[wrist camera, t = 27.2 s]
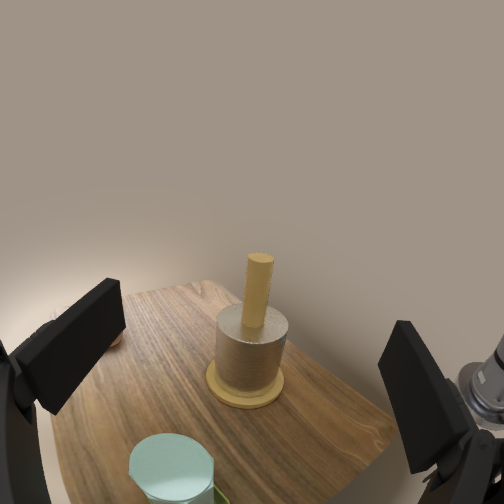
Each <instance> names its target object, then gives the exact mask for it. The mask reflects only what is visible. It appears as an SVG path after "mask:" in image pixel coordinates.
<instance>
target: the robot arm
mask: <svg viewBox="0 0 504 504" xmlns="http://www.w3.org/2000/svg"><path fill="white" fill-rule="evenodd" d="M125 328H126V324H125V318H124V312H123V305H122V297H121V290H120V281H119V280H115V279H111V278H106V279H105V280H103V281H102V282H101V283H100V284H98V285H97V286H96V287H95V288H93V289H92V290H91V291H89V292H88V293H87V294H86V295H84V296H83V297H82V298H81V299H79V300H78V301H77V302H76V303H75V304H73V305H72V306H71V307H70V308H69V309H67V310H66V311H65V312H64V313H63V314H61V315H60V316H59V317H58V318H57V319H56V320H52V321H49V322H47V323H45V324H43V325H42V326H41V327H40V328H39V329H37V330H36V332H34V333H33V334H32V335H31V336H30V338H27V339H26V340H25V341H24V342H23V343H22V344H21V345H19V346H18V347H17V348H16V349H15V350H14V351H13V352H12V353H11V354H10V355H7V353H6V351H5V349H4V346H3V344H2V342H1V340H0V504H51V500H50V497H49V493H48V489H47V485H46V480H45V476H44V471H43V466H42V460H41V454H40V447H39V439H38V429H37V417H36V407H35V404H34V401H35V400H36V399H38V401H39V403H40V404H41V406H42V407H43V408H44V409H46V410H47V411H49V412H50V413H52V414H53V415H55V416H56V415H57V413H58V412H59V411H60V409H61V408H62V407H63V405H64V404H65V403H66V401H67V400H68V399H69V397H70V396H71V395H72V393H73V392H74V391H75V389H76V388H77V387H78V386H79V384H80V383H81V382H82V380H83V379H84V378H85V377H86V375H87V374H88V373H89V372H90V370H91V369H92V368H93V367H94V365H95V364H96V363H97V362H98V360H99V359H100V358H101V357H102V355H103V354H104V353H105V352H106V350H107V349H108V348H109V347H110V346H111V344H112V343H113V342H114V341H115V340H116V338H117V337H118V336H119V335H120V334H121V332H122V331H123V330H124V329H125ZM378 367H379V369H380V372H381V375H382V378H383V381H384V384H385V387H386V390H387V393H388V396H389V399H390V401H391V405H392V408H393V411H394V414H395V417H396V421H397V424H398V427H399V431H400V434H401V437H402V441H403V444H404V448H405V452H406V456H407V460H408V463H409V467H410V472H411V474H415V473H419V472H423V471H427V470H428V469H429V468H430V467H432V466H433V465H434V464H435V463H436V464H437V467H438V468H437V469H436V470H435V471H433V472H432V473H431V474H430V475H429V476H427V477H426V478H425V479H424V480H423V483H424V482H426V481H427V480H428V479H430V478H431V479H430V481H429V483H428V484H427V487H426V489H425V491H424V493H423V495H422V497H421V498H420V500H419V502H418V504H504V438H502V439H500V438H497V439H496V438H495V437H494V436H493V434H492V433H491V432H489V431H488V430H484V429H481V430H479V429H478V427H477V425H476V423H475V420H474V418H473V416H472V414H471V412H470V410H469V408H468V407H467V405H466V404H465V401H464V399H463V397H461V393H460V392H459V390H458V388H457V386H456V385H455V384H454V383H453V382H452V381H451V380H450V379H449V378H447V379H445V378H444V376H443V374H442V372H441V371H440V369H439V367H438V365H437V364H436V362H435V360H434V359H433V357H432V355H431V354H430V352H429V350H428V348H427V347H426V345H425V344H424V342H423V341H422V339H421V337H420V336H419V334H418V332H417V331H416V329H415V328H414V326H413V325H412V323H411V322H410V321H402V320H397V322H396V324H395V326H394V329H393V331H392V334H391V336H390V339H389V341H388V343H387V345H386V347H385V350H384V352H383V354H382V356H381V358H380V360H379V362H378ZM470 385H471V389H472V392H473V394H474V396H475V397H476V399H477V400H478V401H479V402H480V403H481V404H482V405H483V406H484V407H485V408H487V409H489V410H491V411H494V412H504V335H503V337H502V339H501V341H500V342H499V344H498V346H497V348H496V350H495V351H494V353H493V354H492V355H491V356H490V357H489V358H488V359H487V360H486V361H485V362H484V363H483V364H482V365H481V366H480V367H479V368H478V369H477V370H476V371H475V372H474V374H473V376H472V377H471V381H470ZM500 474H501V480H500V481H498V482H497V483H495V478H496V477H497V476H499V475H500Z"/></svg>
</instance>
